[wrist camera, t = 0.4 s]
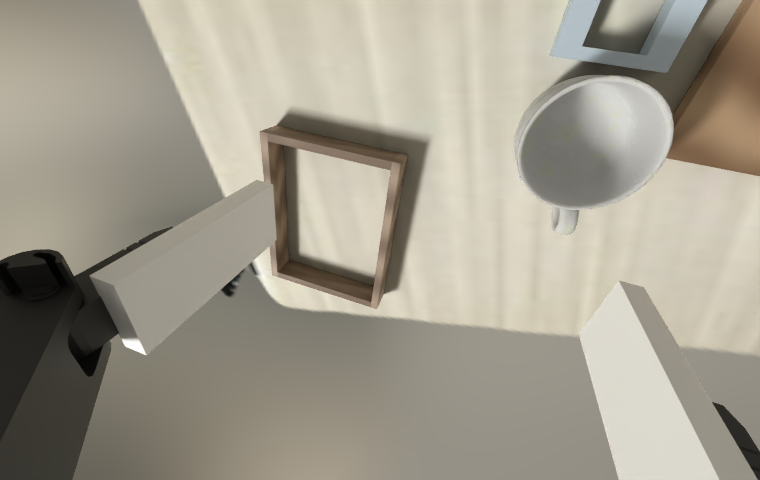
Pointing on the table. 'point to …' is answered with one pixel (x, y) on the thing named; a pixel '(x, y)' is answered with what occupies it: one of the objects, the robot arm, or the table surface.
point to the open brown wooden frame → (275, 175)
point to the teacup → (591, 143)
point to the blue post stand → (654, 56)
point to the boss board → (724, 101)
